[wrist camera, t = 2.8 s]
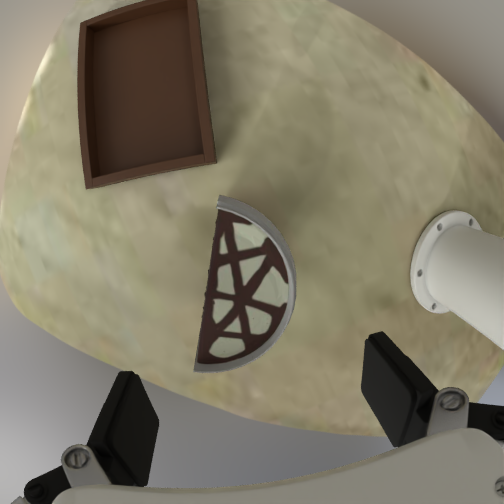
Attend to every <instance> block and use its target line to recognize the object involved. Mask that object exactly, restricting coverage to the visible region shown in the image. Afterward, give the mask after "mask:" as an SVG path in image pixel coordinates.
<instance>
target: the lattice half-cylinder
mask: <svg viewBox="0 0 504 504" xmlns="http://www.w3.org/2000/svg"><path fill="white" fill-rule="evenodd" d="M216 208H218V209H219V210H218V216H217V220H216V228H215V234H214V237H213V246H212V253H211V261H210V267H209V270H208V281H207V286H206V292H205V302H204V307H203V309H204V310H203V315H202V322H201V328H200V334H199V340H198V346H197V352H196V358H195V365H194V371H193V372H199V373H218V372H224V371H230V370H233V369H236V368H239V367H242V366H245V365H247V364H249V363H251V362H253V361H255V360H256V359H258V358H259V357H260V356H262V355H263V354H265V353H266V352H267V351H268V350H269V349H270V348H271V347H272V346H273V345H274V344H275V343H276V342H277V340H278V339H279V338H280V336H281V335H282V333H283V332H284V330H285V328H286V326H287V325H288V323H289V321H290V318H291V315H292V313H293V310H294V305H295V300H296V270H295V265H294V260H293V257H292V254H291V251H290V249H289V246H288V245H287V243H286V241H285V239H284V238H283V236H282V234H281V233H280V232H279V230H278V229H277V228H276V227H275V225H274V224H273V223H272V222H271V221H270V220H269V219H267V218H266V217H265V216H264V215H263V214H262V213H261V212H259V211H257V210H256V209H254V208H253V207H251V206H249V205H248V204H246V203H243V202H241V201H238V200H236V199H234V198H230V197H226V196H222V195H219V199H218V203H217V207H216Z"/></svg>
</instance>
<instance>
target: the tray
mask: <svg viewBox="0 0 504 504" xmlns="http://www.w3.org/2000/svg"><path fill="white" fill-rule="evenodd" d="M77 87H78V119H79V134H80V145H81V155H82V164H83V172H84V179H85V186H86V189H91V188H99V187H103V186H107V185H111V184H115V183H119V182H123V181H128V180H132V179H136V178H141V177H146V176H150V175H155V174H160V173H165V172H170V171H175V170H181V169H186V168H192V167H197V166H203V165H210V164H216V163H217V159H216V152H215V144H214V137H213V129H212V122H211V114H210V106H209V99H208V91H207V82H206V74H205V66H204V57H203V48H202V40H201V31H200V21H199V12H198V3H197V0H145V1H141V2H138V3H134V4H131V5H128V6H124V7H121V8H118V9H115V10H112V11H110V12H107V13H104V14H101V15H99V16H96V17H94V18H91V19H89V20H86V21H84V22H81V23H80V33H79V47H78V78H77Z"/></svg>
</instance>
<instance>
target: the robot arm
mask: <svg viewBox="0 0 504 504" xmlns="http://www.w3.org/2000/svg"><path fill="white" fill-rule="evenodd" d="M410 277H411V286H412V290H413V293H414V296H415V298H416V300H417V301H418V302H419V303H420V305H422V306H423V307H424V308H425V309H427V310H428V311H430V312H433V313H446V312H449V311H452V312H454V313H455V314H456V315H458V316H459V317H460V318H462V319H463V320H465V321H466V322H467V323H469V324H470V325H471V326H473V327H474V328H475V329H477V330H478V331H479V332H481V333H482V334H483V335H485V336H486V337H487V338H489V339H490V340H491V341H493V342H494V343H495V344H496V345H498V346H499V347H500V348H502V349H503V350H504V238H502V237H499V236H496V235H493V234H490V233H487V232H484V231H482V229H481V227H480V225H479V223H478V222H477V221H476V219H475V218H474V217H473V216H471V215H470V214H469V213H466V212H463V211H458V210H451V211H446V212H444V213H442V214H440V215H439V216H437V217H436V218H434V219H433V220H432V221H431V222H430V223H429V225H428V226H427V227H426V229H425V230H424V231H423V233H422V235H421V237H420V239H419V240H418V242H417V245H416V248H415V251H414V253H413V258H412V263H411V272H410ZM361 390H362V393H363V395H364V397H365V399H366V400H367V402H368V404H369V405H370V407H371V409H372V411H373V412H374V414H375V416H376V417H377V419H378V421H379V423H380V424H381V426H382V428H383V429H384V431H385V433H386V435H387V436H388V438H389V440H390V442H391V443H392V445H393V446H394V447H398V448H396V449H393V450H390V451H388V452H385V453H382V454H379V455H376V456H374V457H370V458H367V459H365V460H361V461H358V462H355V463H352V464H349V465H345V466H342V467H338V468H335V469H331V470H327V471H323V472H319V473H315V474H310V475H306V476H301V477H296V478H291V479H286V480H280V481H274V482H267V483H260V484H252V485H243V486H232V487H217V488H151V487H144V486H147V484H148V479H149V473H150V468H151V463H152V458H153V453H154V448H155V442H156V437H157V433H158V427H159V419H158V416H157V414H156V412H155V410H154V408H153V406H152V404H151V402H150V400H149V398H148V395H147V393H146V391H145V389H144V386H143V384H142V382H141V379H140V377H139V375H138V374H135V373H134V372H133V371H121V372H119V373H118V376H117V377H116V380H115V382H114V384H113V386H112V388H111V390H110V393H109V395H108V397H107V399H106V402H105V403H104V405H103V407H102V409H101V412H100V414H99V416H98V418H97V421H96V423H95V425H94V428H93V430H92V433H91V435H90V437H89V440H88V442H87V445H82V444H77V445H73V446H71V447H69V448H67V449H66V450H65V451H64V453H63V454H62V457H61V463H62V465H61V466H59V467H58V468H56V469H54V470H52V471H49V472H47V473H45V474H43V475H41V476H39V477H37V478H34V479H32V480H31V481H29V482H28V483H27V484H26V486H25V488H24V497H23V498H22V497H20V496H19V497H18V498H17V499H16V500H14V501H13V502H12V503H11V504H504V406H497V405H487V404H479V403H472V402H469V398H468V396H467V394H466V393H465V392H464V391H463V390H461V389H459V388H455V387H447V388H443V389H442V390H440V391H438V389H437V388H436V387H435V386H434V385H433V384H432V383H431V381H430V380H429V379H428V378H427V377H426V376H425V375H424V374H423V373H422V371H421V370H420V369H419V368H418V367H417V366H416V365H415V364H414V363H413V361H412V360H411V359H410V358H409V357H408V356H406V355H404V353H403V352H402V351H401V350H400V349H399V348H398V347H397V346H396V345H395V344H394V343H393V342H392V340H391V339H390V338H389V337H388V336H387V335H386V334H385V333H384V332H383V331H381V332H377V333H374V334H370V335H369V337H368V339H366V340H365V349H364V361H363V372H362V382H361Z"/></svg>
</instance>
